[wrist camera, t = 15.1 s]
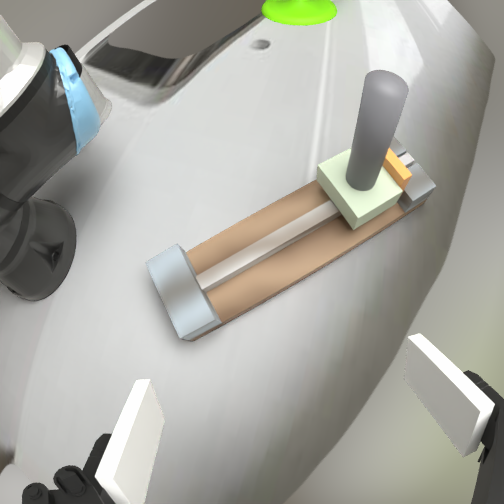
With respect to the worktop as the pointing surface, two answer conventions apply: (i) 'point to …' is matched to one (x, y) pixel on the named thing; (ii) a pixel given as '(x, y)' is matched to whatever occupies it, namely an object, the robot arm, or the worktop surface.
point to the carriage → (367, 153)
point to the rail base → (286, 258)
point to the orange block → (398, 168)
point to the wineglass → (299, 11)
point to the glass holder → (90, 86)
